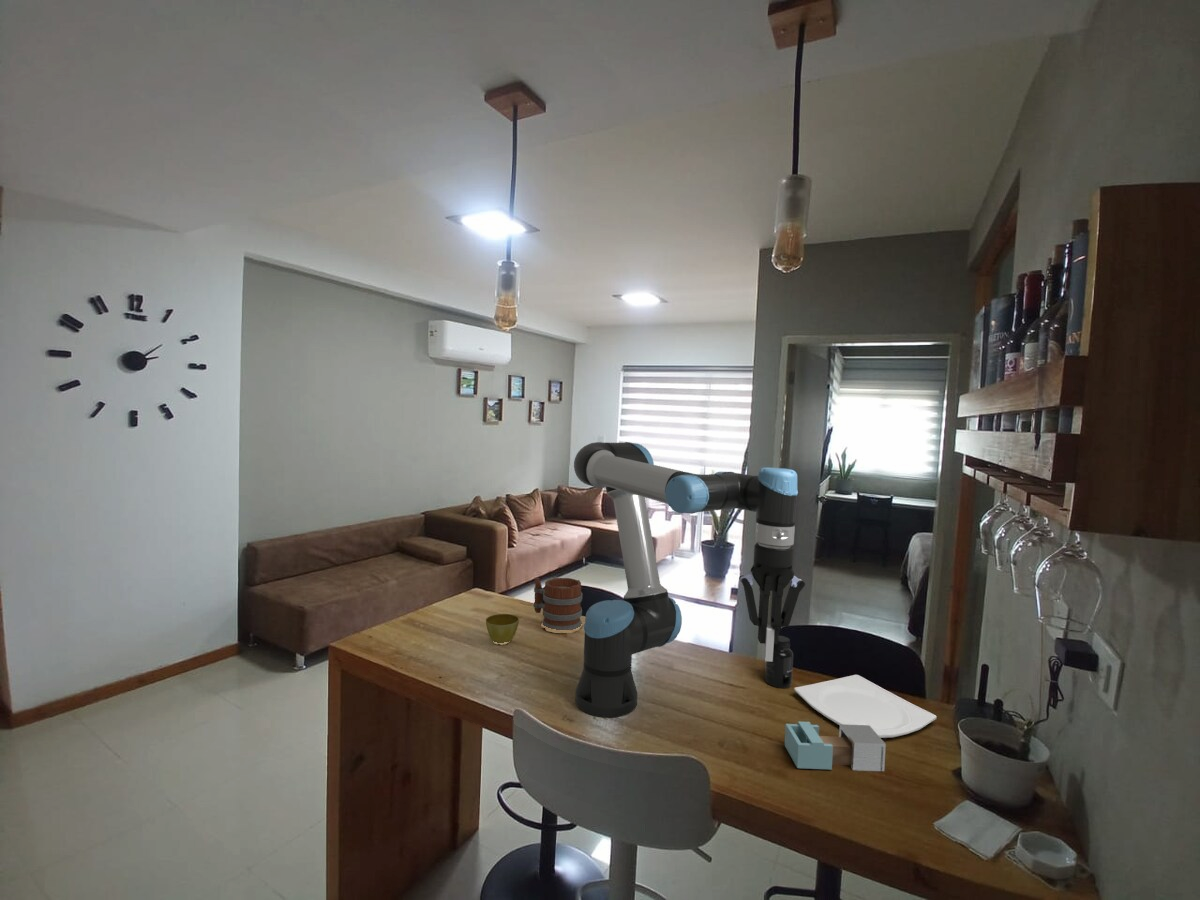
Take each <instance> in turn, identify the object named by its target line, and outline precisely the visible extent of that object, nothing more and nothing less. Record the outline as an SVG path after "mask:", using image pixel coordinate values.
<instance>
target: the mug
mask: <svg viewBox="0 0 1200 900" xmlns="http://www.w3.org/2000/svg"><path fill="white" fill-rule="evenodd" d="M533 592H534V601H533V608H534V611H535V613H536V614H540V613H541V611H542V617H543V620H542V621H543V622H541V623H543V625H544V626H546V627H548V628H551V629H556V630H573V629H576V628H578V627H580V626H581V624H583V622H582V620H581V617H582V616H583V609H582V607H581V602H582V601H583V592H582V582H581V580H579V579H575V578H571V577H553V578H551V579H550V578H549V579H548V580H546V581H545V582H544V588H543V587H542V582H541V580H540V578H539V577H534V588H533ZM542 601H544V603H543V602H542Z"/></svg>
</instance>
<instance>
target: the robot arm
mask: <svg viewBox="0 0 1200 900" xmlns="http://www.w3.org/2000/svg"><path fill="white" fill-rule="evenodd" d="M654 463H655V462H654V459H653V457H652V454H651V453H650V451H649V449H647V448H646V446H643V445H642V444H639V443H635V442H630V441H625V442H602V441H601V442H598V441H597V442H590V443H589V444H586V445H584V446H583V447H582V448H580V450H578V451H577V452H576V455H575V457H574V461H573V468H574V469H573V470H574V473H575V475H576V477H577V479H578V480H579V481H580V482H581V483H583V484H585V485H587V486H589V487H590V486H591V487H594V488H597V489H603V488H605V489H606V490H605V492H606V496H608V497H609V498H611V500H612V502H613V506H614V512H615V519H616V524H617V531H618V534H619V535H618V536H619V541H620V548H621V554H622V561H623V566H624V572H625V573H624V574H625V579H626V580H625V581H626V584H627V591H626V592H625V594H624V596H623V600H622V599H613V600H610V599H608V600H602V601H599V602H596V603H594V604H592V605H591V606H590V607H589V608H588V609H587V610H586V612H585V613H586V614H585V621H584V624H583V630H584V631H583V632H584V644H583V669H582V672H581V675H580V677H579V680H578V683H577V686H576V689H575V700H574V701H575V704H576V706H577V707H578V708H579V709H580V710H581V711H583V712H584V713H586V714H588V715H591V716H596V717H600V718H601V717H602V718H616V717H621V716H625V715H627V714H630V713H631V712H632V711H635V709H636V708H637V706H638V696H639V695H638V690H637V686H636V683H635V679H634V676H633V671H632V659H633V658H632V657H633V655H636V654H637V653H641V652H644V651H647V650H651V649H655V648H660V647H664V646H665V645H667V644H669V643H672V642H674V640H675V639H677V637H678V635H679V634H680V632H681V630H682V622H683V617H682V612H681V609H680V607H679V604H678V603H677V601H675V599H674V598H672V597H670V596H669V592H668V589H667V588H665V587H664V586H663V585H662V584H661V580H660V574H659V569H658V563H657V558H656V557H657V556H656V553H655V546H654V541H653V534H652V530H651V524H650V518H649V513H648V507H647V502H646V498H647V499H648V500H649V499H650V500H653V501H656V502H660V503H663V504H666V505H668V507H670V508H671V509H672V511H674V512H675V513H679V514H691V515H692V514H696V513H701V512H702V513H703V512H712V511H722V510H734V509H737V510H744V511H748V512H749V511H750V512H756V515H755V530H754V531H755V532H754V541H755V542H756V543H755V544H754V550H753V564H752V566H751V568H750V572H749V573H747V574H745V575H740V576H739V578H738V579H739V581H740V583H741V584H742V586H743V589H744V591H743V592H744V596H745V601H746V602H745V603H746V605H747V606H746V608H747V611H748V612H747V613H748V617H749V621H750V623H752V624H753V625H754V626H757V627H758V632H757V639H758V642H759V644H761V657H762V659H763V660H764V661H765V662H766V661H771V662H773V647H774V644H778V641H779V636H780V631H781V630H782V628H783V627H785V628H787V627H789V626H790V623H791V621H792V617H793V613H794V610H795V607H796V605H797V601H798V598H799V595H800V592H801V591H802V590H803V588H804V587H805V586H806V583H805V582H804V580H803V579H801V578H800V577H797V576H796V575H795V572H794V569H793V565H794V563H793V562H794V548H793V547H792V546H794V545H795V544H794V543H795V530H796V527H795V526H796V511H797V499H798V494H799V491H798V474H797V471H795V470H793V469H790V468H780V467H761V468H760V469H759V471H758V475H754V474H753V475H752V474H751V475H750V474H744V473H739V472H734V471H716V472H715V473H710V474H699V473H698V474H697V473H692V472H687V471H683V470H679V469H674V468H671V467H670V468H669V467H665V466H661V465H656V464H654ZM754 581H755V582H756V583H757V585H758V586H759V588H758V589H759V603H758V604H759V605H758V611H757V606H756V600H755V595H754V589H753V587H752V586H753V585H754ZM788 584H789V588H788V591H787V594H786V597H785V601H784V603H782V601H783V596H784V589H785V588H786V587H787V586H788ZM771 592H772V594H771ZM770 596H771V611H770V613H771V614H770V624H769V623H768V622H769V608H770V607H769V606H770ZM782 604H783V605H782ZM782 606H783V607H782Z"/></svg>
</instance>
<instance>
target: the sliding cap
mask: <svg viewBox="0 0 1200 900" xmlns="http://www.w3.org/2000/svg"><path fill="white" fill-rule="evenodd" d="M784 728H785V729H784V747H785V749H786V751H787V752H788V754H789V756H790V757H791V759H792V761H793V763H794V765H795V767H796V768H797V769H806V770H807V769H810V770H833V764H832V757H833V746H832V744H824V742H823V741H822V739H821V738H820V736H821V735H820V726H819V725H818V724H811V722H810V721H797V723H785V727H784ZM807 739H808V741H809V742H810V743H807Z"/></svg>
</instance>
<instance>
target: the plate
mask: <svg viewBox="0 0 1200 900" xmlns="http://www.w3.org/2000/svg"><path fill="white" fill-rule="evenodd" d="M793 689H794V691H795V693H796V694H798V696H799V697H801V698H802V699H803V700H804V701H805V702H806V703H807V704H808V705H809V706H810V707H811V708H813V709H814V710H816V711H817V712H818V713H820V714H821V715H823V716H824V717H825V718H827V719H828V720H830V721H832V722H834V723H835V724H836V725H839V726H840V724H845V725H869V726H870V727H871V728H872V729H873V730H874V731H875V732H876V734H877V735H878V736H879V737H880V738H881V739H882V738H883V739H887V738H896V737H900V736H904V735H908V734H911V733H915V732H917V731H919V730H922V729H923V728H924V727H927V725H928V724H930V723H932V722H934V721H935V720H937V719H938V718H937V715H935V714H934V713H932V712H930V711H929V710H925V709H924V708H923V707H922V708H921V707H920V706H917V705H916V704H913V703H911V702H909V701H908V700H905V699H904V698H903V697H900V696H898V695H896V694H894V693H893V692H891V691H888V690H886V689H884V688H883V687H881V686H879V685H878V684H875V683H874V682H872V681H870V680H868V679H866V678H865V677H863V676H861V675H859V674H853V675H849V676H848V675H847V676H844V677H840V678H835V679H830V680H827V681H826V680H824V681H821V682H816V683H812V684H807V685H802V686H801V685H800V686H797V687H796V686H795V687H794V688H793Z"/></svg>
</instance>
